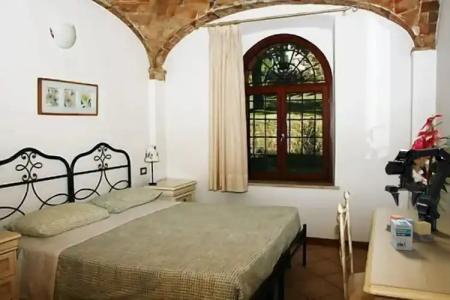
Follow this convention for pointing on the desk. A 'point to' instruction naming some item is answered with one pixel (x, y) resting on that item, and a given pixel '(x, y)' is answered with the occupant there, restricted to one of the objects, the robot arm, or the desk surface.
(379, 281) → the desk surface
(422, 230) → the yellow cube
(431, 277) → the desk surface
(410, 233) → the light bulb box
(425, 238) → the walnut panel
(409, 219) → the pale blue cube
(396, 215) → the peach cube
